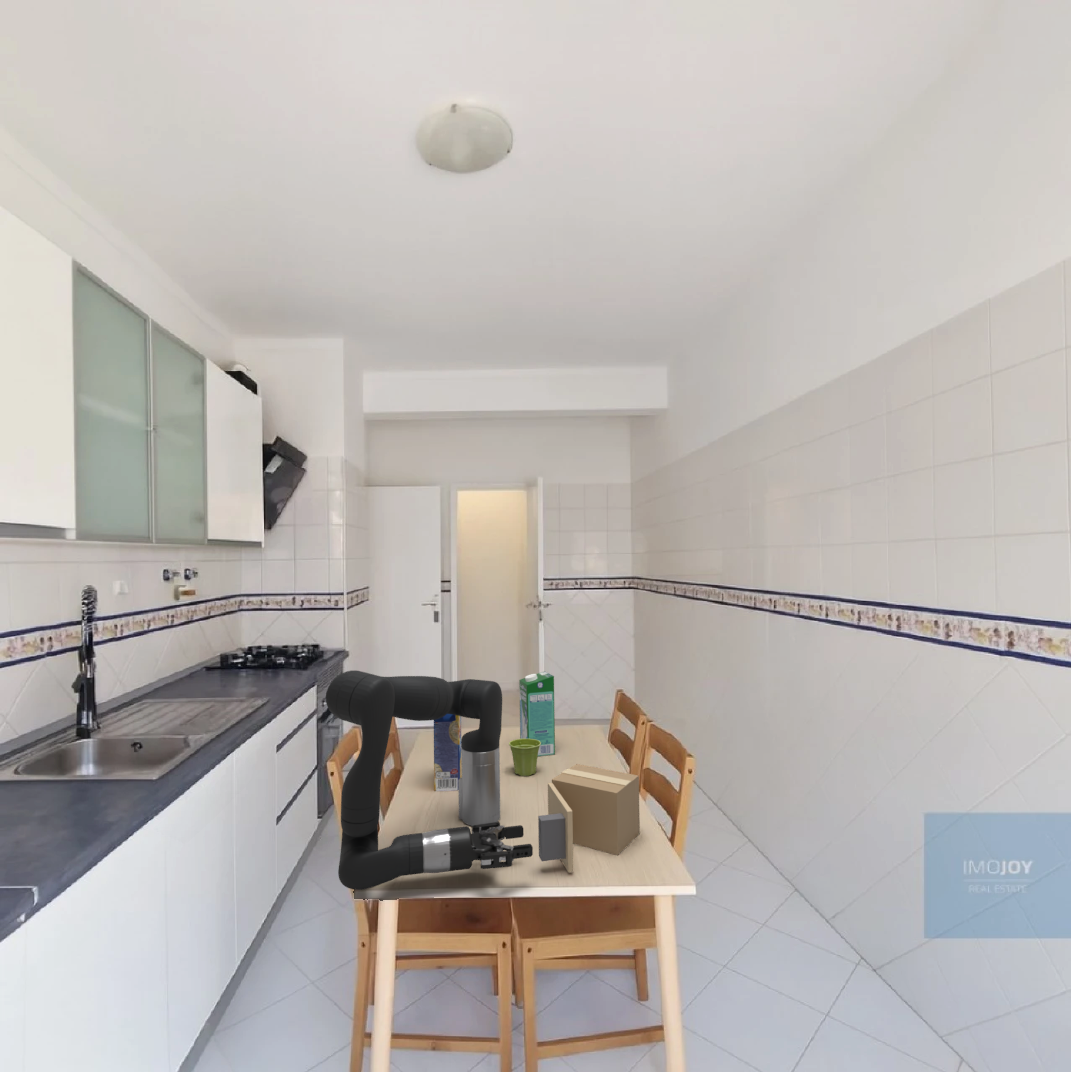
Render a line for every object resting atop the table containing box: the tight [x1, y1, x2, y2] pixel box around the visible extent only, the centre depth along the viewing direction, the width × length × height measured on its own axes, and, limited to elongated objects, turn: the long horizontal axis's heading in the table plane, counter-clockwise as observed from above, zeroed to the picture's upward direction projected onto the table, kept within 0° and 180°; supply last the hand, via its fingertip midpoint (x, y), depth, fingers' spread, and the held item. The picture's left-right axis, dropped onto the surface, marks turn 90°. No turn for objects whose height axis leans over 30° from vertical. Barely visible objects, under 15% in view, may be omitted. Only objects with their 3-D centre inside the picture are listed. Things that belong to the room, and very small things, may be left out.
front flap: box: [537, 782, 574, 873], centre depth 131 cm, size 16×6×12 cm, turn 13°
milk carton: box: [518, 670, 556, 757], centre depth 201 cm, size 9×9×25 cm
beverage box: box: [433, 714, 462, 792], centre depth 174 cm, size 7×11×22 cm, turn 4°
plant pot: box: [508, 738, 541, 777], centre depth 182 cm, size 9×9×9 cm
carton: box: [551, 763, 641, 856], centre depth 141 cm, size 16×12×13 cm
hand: (527, 840), depth 125 cm, fingers open, 8 cm apart
